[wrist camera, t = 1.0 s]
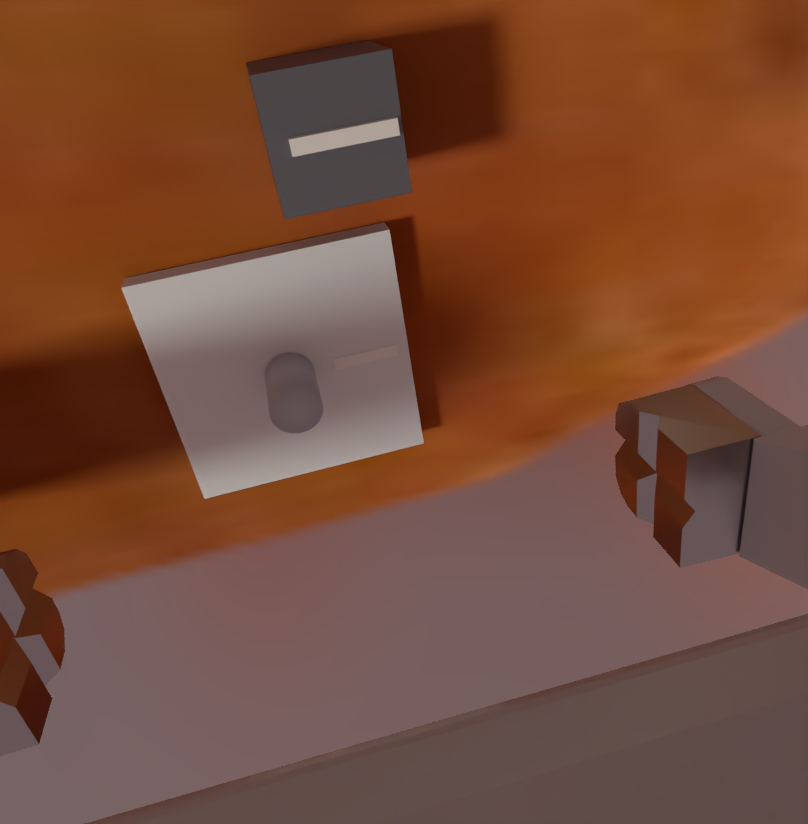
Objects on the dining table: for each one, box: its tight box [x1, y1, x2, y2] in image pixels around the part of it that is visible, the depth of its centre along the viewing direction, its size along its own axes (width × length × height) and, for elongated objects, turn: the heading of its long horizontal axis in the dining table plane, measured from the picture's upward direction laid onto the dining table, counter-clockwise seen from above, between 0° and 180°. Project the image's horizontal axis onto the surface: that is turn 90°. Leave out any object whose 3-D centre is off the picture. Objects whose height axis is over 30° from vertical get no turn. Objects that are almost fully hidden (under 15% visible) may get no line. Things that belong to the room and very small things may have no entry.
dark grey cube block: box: [246, 40, 412, 219], centre depth 27 cm, size 5×5×5 cm
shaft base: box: [122, 222, 424, 499], centre depth 33 cm, size 12×12×5 cm
